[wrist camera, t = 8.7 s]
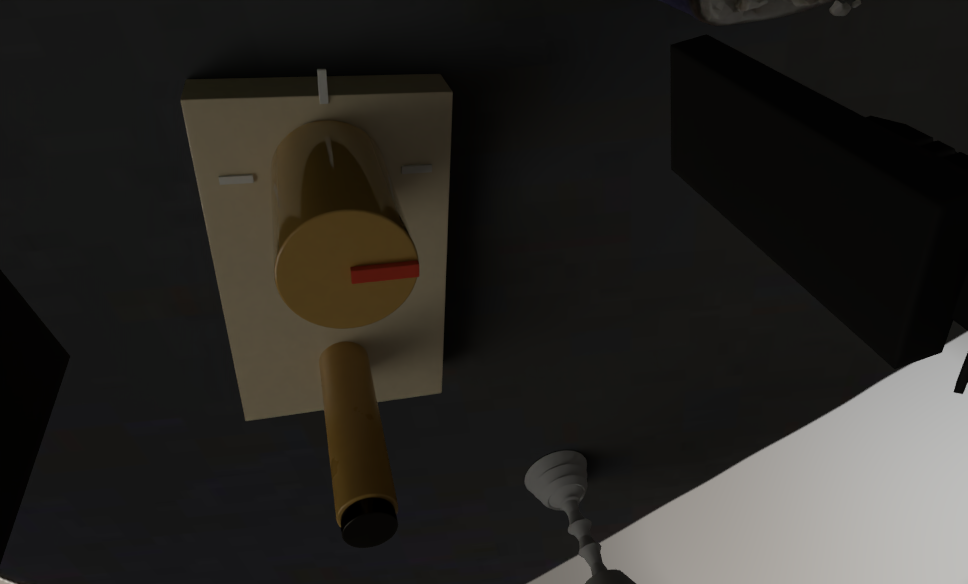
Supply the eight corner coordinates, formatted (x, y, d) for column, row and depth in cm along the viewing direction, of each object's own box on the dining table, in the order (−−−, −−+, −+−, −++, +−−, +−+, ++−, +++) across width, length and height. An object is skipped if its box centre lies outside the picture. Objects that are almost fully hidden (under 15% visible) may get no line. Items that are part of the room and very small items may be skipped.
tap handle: (277, 227, 30) (283, 343, 24) (262, 122, 28) (264, 221, 21) (387, 218, 32) (421, 325, 25) (384, 116, 29) (420, 208, 22)
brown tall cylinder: (315, 327, 36) (336, 517, 27) (363, 321, 37) (401, 505, 27) (318, 363, 38) (340, 555, 28) (365, 357, 38) (401, 543, 29)
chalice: (616, 450, 52) (750, 693, 38) (569, 507, 54) (677, 752, 40) (540, 435, 48) (656, 696, 34) (494, 496, 51) (584, 761, 37)
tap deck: (180, 52, 28) (173, 72, 25) (441, 48, 30) (455, 67, 28) (246, 390, 39) (245, 423, 37) (433, 365, 41) (442, 395, 39)
